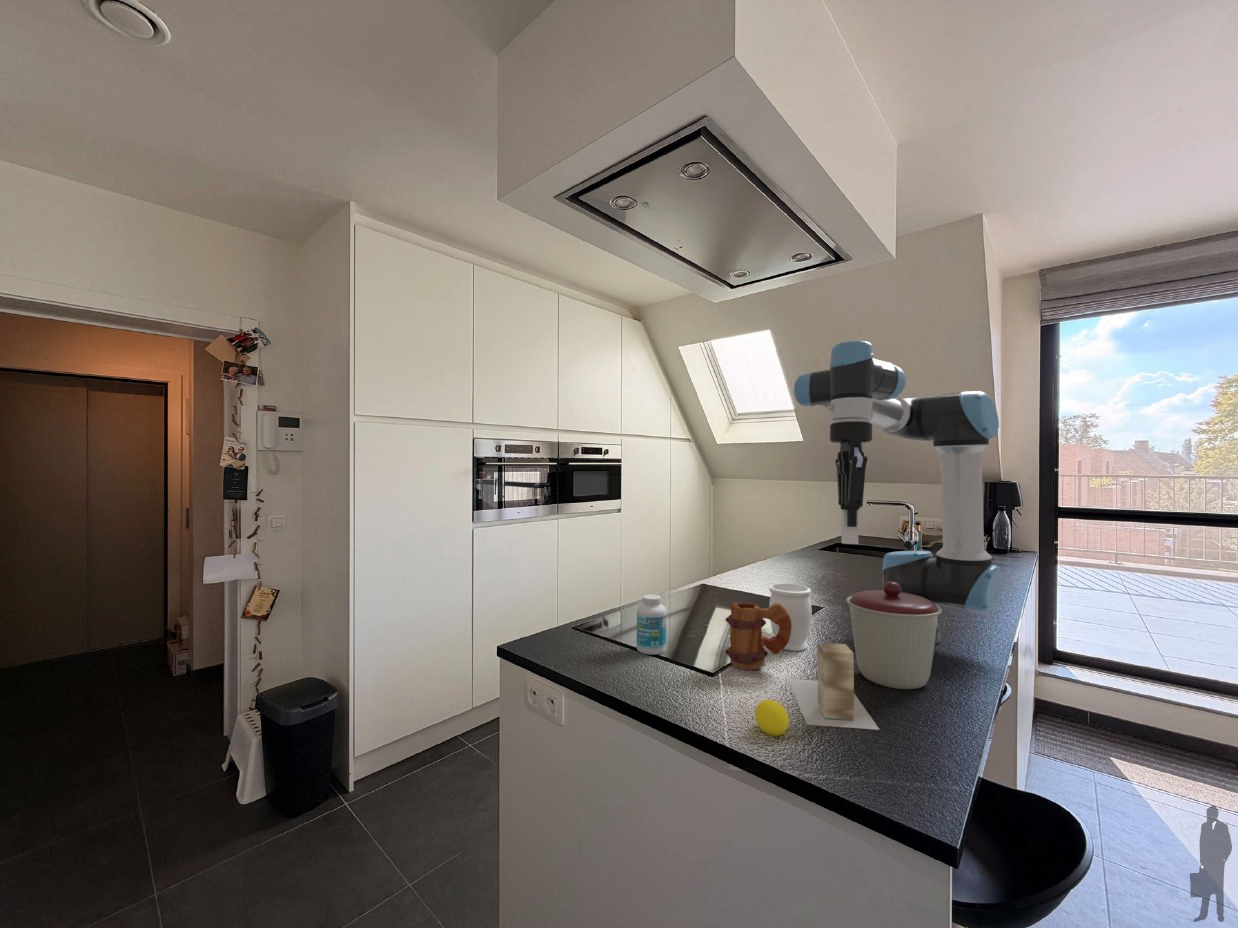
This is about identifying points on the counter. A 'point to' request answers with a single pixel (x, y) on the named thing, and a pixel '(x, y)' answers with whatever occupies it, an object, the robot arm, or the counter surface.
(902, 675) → the canister
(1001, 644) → the counter surface
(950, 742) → the counter surface
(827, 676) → the block
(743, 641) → the mug
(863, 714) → the mat
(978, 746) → the counter surface
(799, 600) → the jar
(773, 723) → the lemon
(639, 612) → the pill bottle
